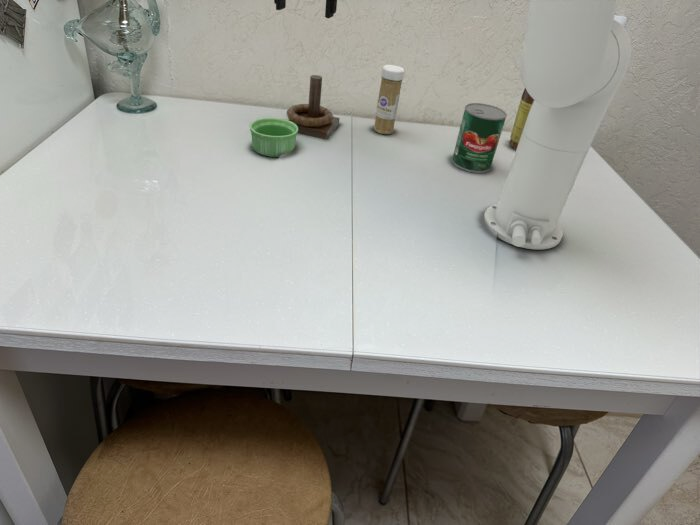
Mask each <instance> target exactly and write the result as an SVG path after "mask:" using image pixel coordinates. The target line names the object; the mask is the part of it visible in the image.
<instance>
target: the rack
mask: <svg viewBox="0 0 700 525" xmlns="http://www.w3.org/2000/svg"><path fill="white" fill-rule="evenodd" d="M322 86H323V76H321V75H317V74H312V75H310V76H309V92H308V95H309V96H308V104H309V106H308V113H299V114H297V115H299V116H303V117H307V118H320V117H323V116H321V115H319V114H320V106H321V98H322ZM288 121H290V120H289V119H288ZM291 122H292V121H291ZM293 123H294V122H293ZM294 124H295V123H294ZM296 125H297V124H296ZM339 125H340V117H337V116H333V120H332V121H331V122H330V123H329V124H328V125H325V126H321V127H306V126H301V125H297V127H298V133H297V134H301V135H306V136H311V137H316V138H319V139H325V140H327V139H328V138H329V136H330V135H332V133H333V132H334V131H335V130H336V128H337V127H338V126H339Z"/></svg>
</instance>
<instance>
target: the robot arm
mask: <svg viewBox="0 0 700 525" xmlns="http://www.w3.org/2000/svg"><path fill="white" fill-rule="evenodd" d="M286 3H287V0H273V4H274V5H275V10H276V11H282V10H284V9H286V6H287V4H286ZM618 3H619V0H529V4H528V9H527V18H526V24H525V31H524V37H523V44H522V50H521V65H520V71H521V79H522V82H523V86H524V89H525V88H526V90H527V92H528V93H529V95H530V96H531V97H532V98H533V99H534V102H533V104H532V107H531V109H530V112H529V114H528V117H527V120H526V123H525V126H524V129H523V132H522V135H521V137H520V140H519V143H518V146H517V149H515V153H514V155H513V158H512V161H511V164H510V167H509V170H508V173H507V176H506V179H505V182H504V186H503V188H502V191H501V194H500V197H499V200H498V203H493V204H492V205H490V206H488V207H487V208H486V210H485V211H484V216H483V217H484V221H485V223H486V225H487V226H488V227H489V228H490V229H491V230H492V231H493V232H495V233H496V237H497V238H498V239H499V240H501V241H502V242H505V243H507V244H510V245H512V246H515V247H517V248H522V249H526V250H534V251H535V250H548V249H552V248H555V247H556V246H557V245H558V246H559V244H560V242H561V240H562V238H563V236H564V230H563V228H562V226H561V225H560V223H559V219H560V217H561V215H562V213H563V210H564V208H565V206H566V203H567V201H568V198H569V196H570V194H571V191H572V190H573V187H574V186H575V182H576V180H577V178H578V176H579V173H580V171H581V168H582V166H583V163H584V162H585V159H586V157H587V154H588V152H589V150H590V148H591V147H592V146H591V145H592V143H593V141H594V139H595V136H596V134H597V132H598V131H599V130H598V129H599V128H600V125H601V124H602V122H603V119H604V117H605V115H606V113H607V111H608V109H609V107H610V105H611V103H612V101H613V99H614V97H615V96H616V94H617V92H618V91H619V88H620V86H621V84H622V82H623V81H624V78H625V76H626V73H627V71H628V69H629V66H630V62H631V58H632V42H631V38H630V34H629V33H628V31H627V29H626V28H625V27H624V26H623V24H621V23H620V22H619V21H617V20H616V19H615V15H616V12H617V7H618ZM337 7H338V0H325V9H324V10H325V11H324V17H325V18H326V19H331V18H333V17H334V16H335V14H336V13H337V9H338V8H337Z"/></svg>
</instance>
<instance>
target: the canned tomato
mask: <svg viewBox="0 0 700 525" xmlns="http://www.w3.org/2000/svg"><path fill="white" fill-rule="evenodd" d="M507 116H508V114H507V112H506V111H505V110H504V109H502V108H500V107H497V106H494V105H492V104H487V103H480V102H471V103H468V104H466V105H465V106H464V110H463V115H462V120H461V123H460V126H459V131H458V134H457V138H456V142H455V146H454V150H453V154H452V157H451V162H452V164H453V165H454V166H455V167H457V168H458V169H460V170H463V171H465V172H468V173H474V174H484V173H488V172H489V171H490V170H491V169H492V164H493V162H494V158H495V155H496V152H497V150H498V149H497V148H498V145H499V142H500V138H501V136H502V132H503V130H504V126H505V122H506V119H507Z"/></svg>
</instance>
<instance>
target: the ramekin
mask: <svg viewBox="0 0 700 525" xmlns="http://www.w3.org/2000/svg"><path fill="white" fill-rule="evenodd" d="M249 131H250V135H251V136H250V137H251V145H252V149H253V150H254V151H255V152H256V153H257V154H259V155H262V156H265V157H271V158H280V157H281V156H282V155H283V154H286V153H290V152H292V151H294V149H295V148H296V144H297V136H298V134H299V133H298V127H297V125H296V124H294V123H293V122H291V121H289V119H285V118H280V117H262V118H257V119H255V120H253V121H251V122H250V123H249Z"/></svg>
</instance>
